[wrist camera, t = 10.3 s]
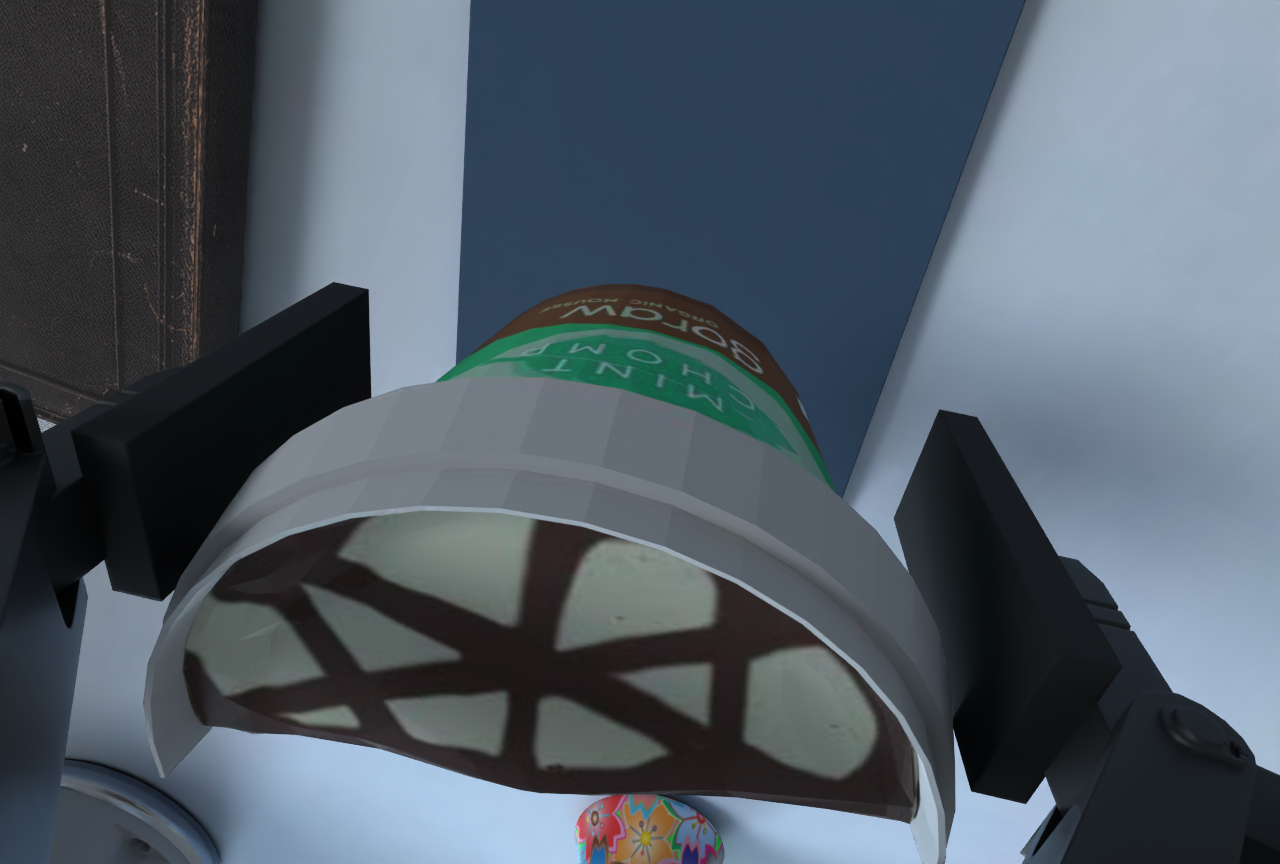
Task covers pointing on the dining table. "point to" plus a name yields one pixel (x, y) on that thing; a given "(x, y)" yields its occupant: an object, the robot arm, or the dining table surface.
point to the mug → (645, 833)
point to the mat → (727, 168)
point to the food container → (573, 582)
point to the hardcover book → (119, 190)
